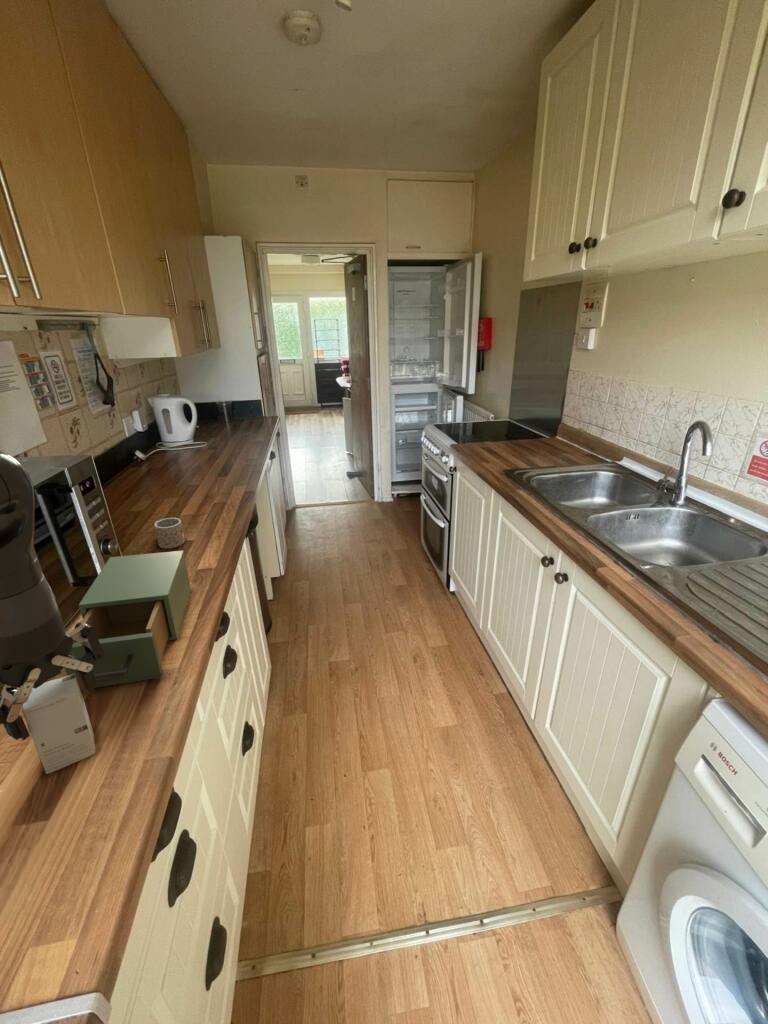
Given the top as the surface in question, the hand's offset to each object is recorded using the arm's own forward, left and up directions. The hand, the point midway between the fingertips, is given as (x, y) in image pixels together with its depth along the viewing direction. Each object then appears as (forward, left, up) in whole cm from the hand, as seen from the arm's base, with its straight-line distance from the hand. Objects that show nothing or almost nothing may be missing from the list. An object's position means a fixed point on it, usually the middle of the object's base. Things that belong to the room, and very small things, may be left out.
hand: (57, 712), depth 59 cm
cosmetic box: (0, 0, -8) cm, 8 cm away
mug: (-43, +52, -8) cm, 68 cm away
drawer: (-9, +15, -7) cm, 19 cm away
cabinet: (-18, +26, -8) cm, 33 cm away
